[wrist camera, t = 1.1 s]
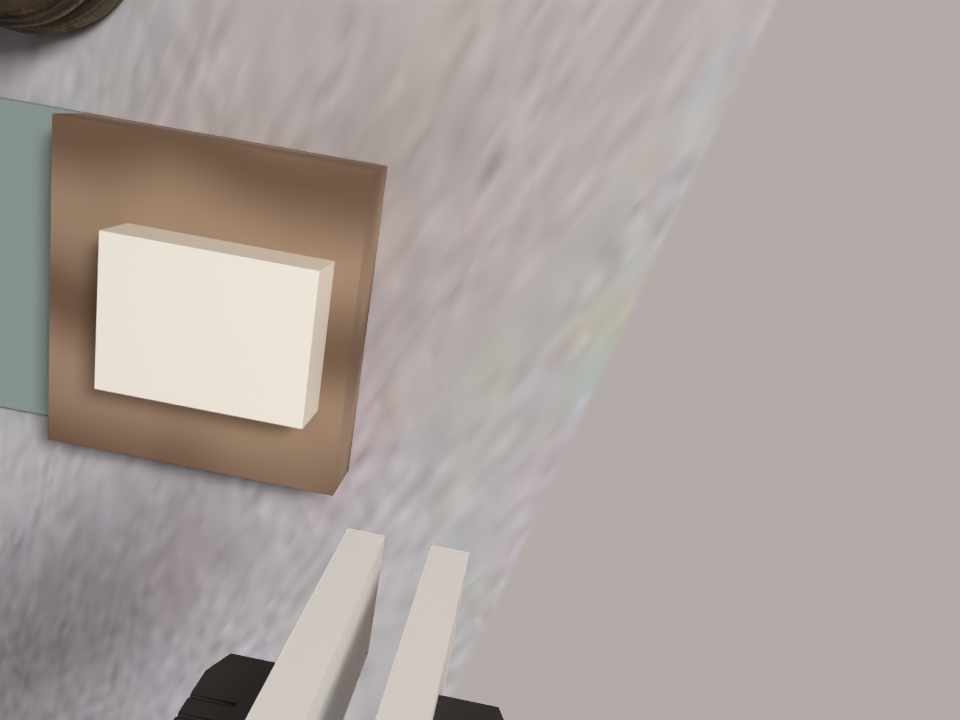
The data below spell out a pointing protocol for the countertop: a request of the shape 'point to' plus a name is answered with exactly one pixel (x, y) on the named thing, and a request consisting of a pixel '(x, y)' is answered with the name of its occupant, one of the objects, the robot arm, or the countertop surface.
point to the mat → (25, 253)
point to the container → (52, 14)
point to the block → (211, 324)
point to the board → (223, 216)
